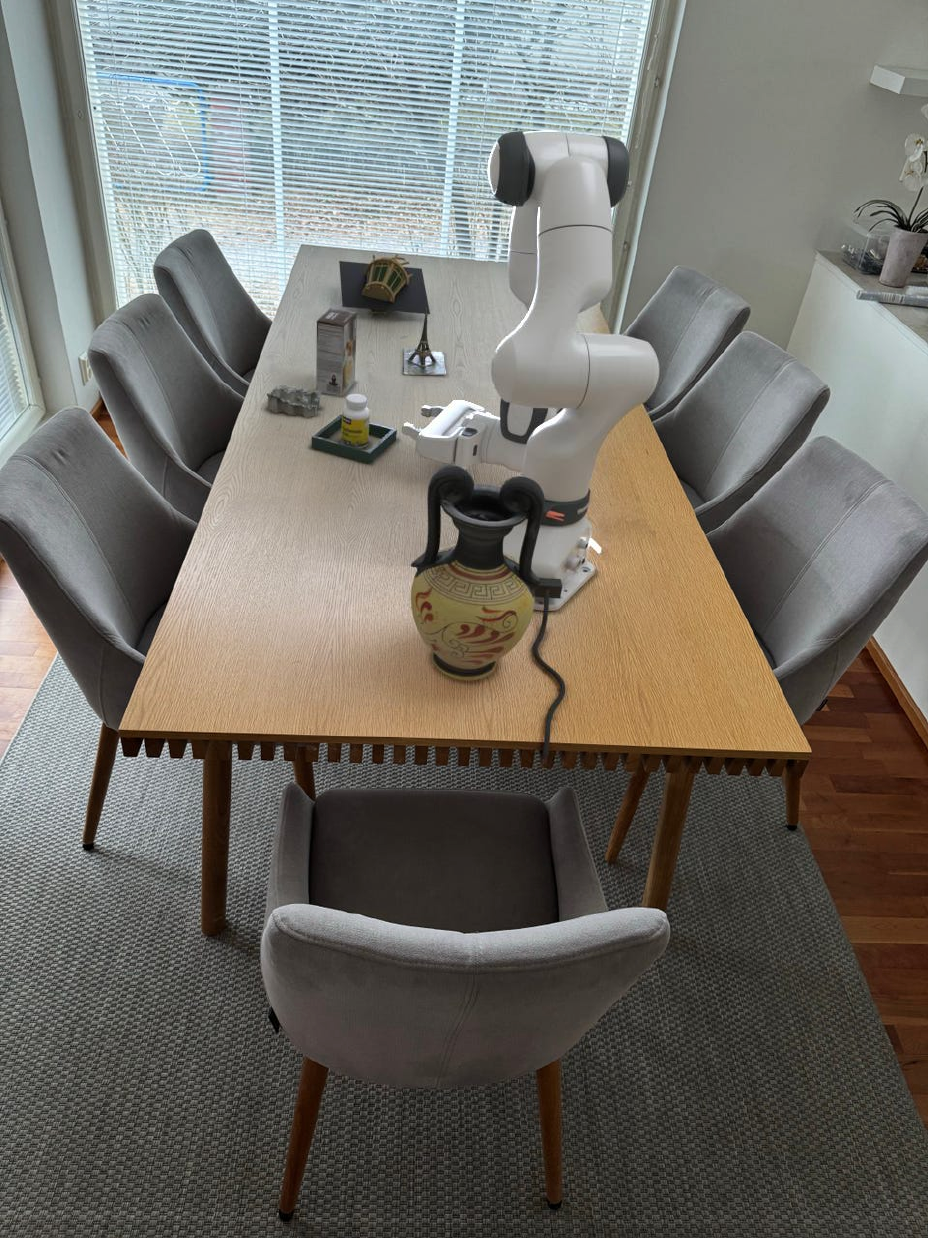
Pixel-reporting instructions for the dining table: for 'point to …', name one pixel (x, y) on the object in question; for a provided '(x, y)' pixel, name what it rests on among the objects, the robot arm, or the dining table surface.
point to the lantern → (383, 286)
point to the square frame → (351, 452)
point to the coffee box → (336, 351)
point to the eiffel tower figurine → (423, 358)
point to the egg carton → (294, 401)
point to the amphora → (476, 572)
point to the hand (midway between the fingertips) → (413, 418)
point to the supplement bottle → (355, 421)
